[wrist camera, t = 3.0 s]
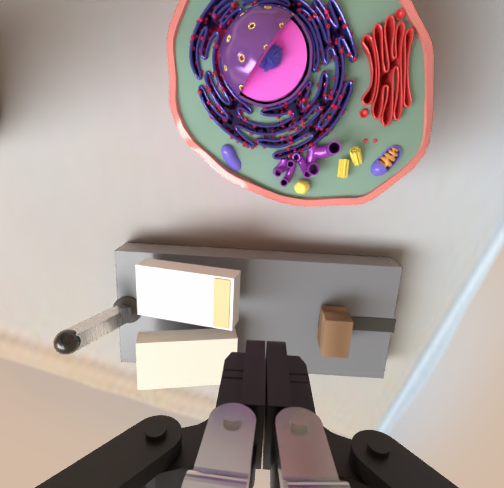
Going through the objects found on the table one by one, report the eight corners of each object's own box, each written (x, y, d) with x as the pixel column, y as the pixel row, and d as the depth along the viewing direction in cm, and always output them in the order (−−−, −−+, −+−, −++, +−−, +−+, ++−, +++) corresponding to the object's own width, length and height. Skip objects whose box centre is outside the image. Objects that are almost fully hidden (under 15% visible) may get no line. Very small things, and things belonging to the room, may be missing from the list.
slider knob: (317, 338, 35) (321, 356, 32) (320, 305, 34) (325, 320, 31) (341, 340, 35) (348, 358, 32) (345, 306, 34) (353, 322, 31)
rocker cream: (140, 376, 34) (137, 390, 33) (138, 331, 33) (135, 343, 31) (233, 370, 36) (235, 383, 34) (234, 327, 35) (237, 338, 33)
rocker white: (148, 305, 34) (136, 315, 32) (147, 258, 33) (134, 265, 31) (238, 320, 32) (231, 331, 30) (240, 270, 31) (233, 278, 29)
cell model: (317, 235, 36) (340, 275, 25) (151, 105, 33) (96, 87, 22) (441, 90, 32) (533, 63, 21) (265, -71, 29) (265, -199, 18)
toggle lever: (118, 318, 36) (49, 354, 29) (117, 300, 35) (46, 332, 29) (133, 324, 35) (65, 362, 28) (132, 305, 34) (63, 339, 28)
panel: (127, 345, 40) (116, 362, 37) (122, 242, 37) (109, 251, 34) (376, 361, 39) (385, 379, 36) (393, 257, 36) (405, 268, 33)
